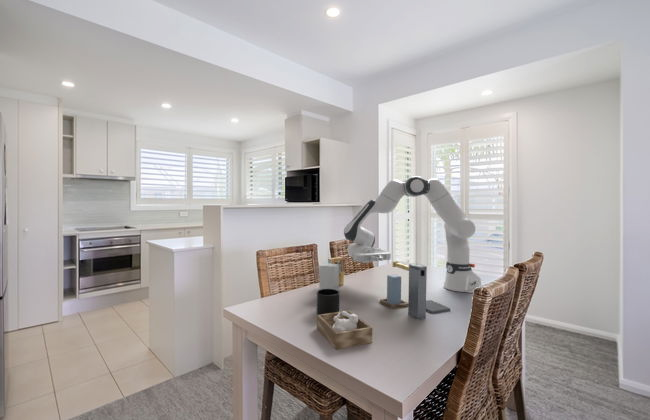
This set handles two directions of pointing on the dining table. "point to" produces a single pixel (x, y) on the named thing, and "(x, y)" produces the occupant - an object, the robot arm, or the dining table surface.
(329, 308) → the mug
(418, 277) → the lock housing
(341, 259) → the candy box
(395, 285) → the block
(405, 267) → the bolt
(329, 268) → the skincare box
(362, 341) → the display box
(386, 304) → the socket frame
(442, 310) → the mat
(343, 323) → the rabbit figurine
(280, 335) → the dining table surface
